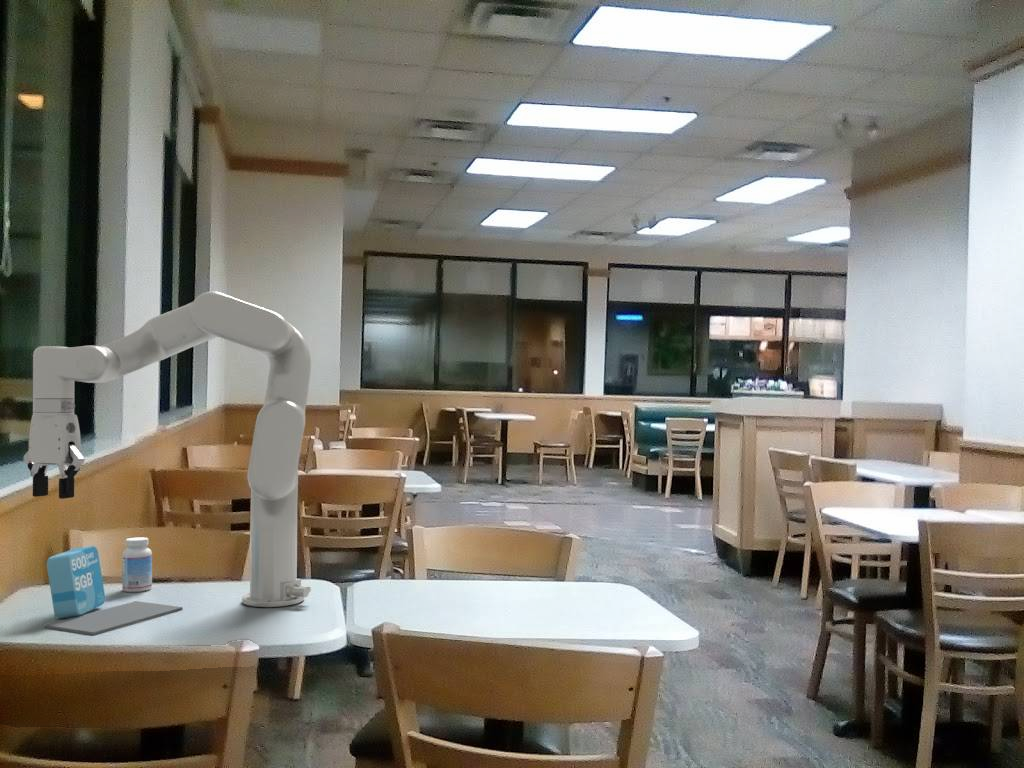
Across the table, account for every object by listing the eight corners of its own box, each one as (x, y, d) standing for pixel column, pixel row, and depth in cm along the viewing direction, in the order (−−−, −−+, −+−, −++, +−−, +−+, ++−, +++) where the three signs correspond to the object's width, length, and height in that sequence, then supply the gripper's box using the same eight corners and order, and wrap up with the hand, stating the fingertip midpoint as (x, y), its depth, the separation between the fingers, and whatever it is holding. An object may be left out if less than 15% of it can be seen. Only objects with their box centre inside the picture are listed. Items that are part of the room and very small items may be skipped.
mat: (182, 609, 194) (182, 607, 194) (93, 635, 174) (93, 632, 174) (136, 603, 199) (136, 601, 199) (44, 627, 179) (44, 624, 179)
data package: (77, 617, 185) (67, 554, 185) (54, 620, 185) (45, 558, 185) (106, 602, 197) (97, 544, 197) (85, 606, 197) (75, 547, 197)
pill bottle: (157, 588, 214) (158, 537, 214) (138, 593, 209) (138, 541, 209) (136, 586, 217) (136, 535, 217) (116, 591, 211) (116, 539, 211)
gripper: (100, 408, 194) (100, 497, 194) (39, 406, 201) (39, 493, 201) (69, 408, 187) (68, 501, 187) (7, 407, 194) (6, 496, 194)
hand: (53, 496), depth 194 cm, fingers open, 6 cm apart
